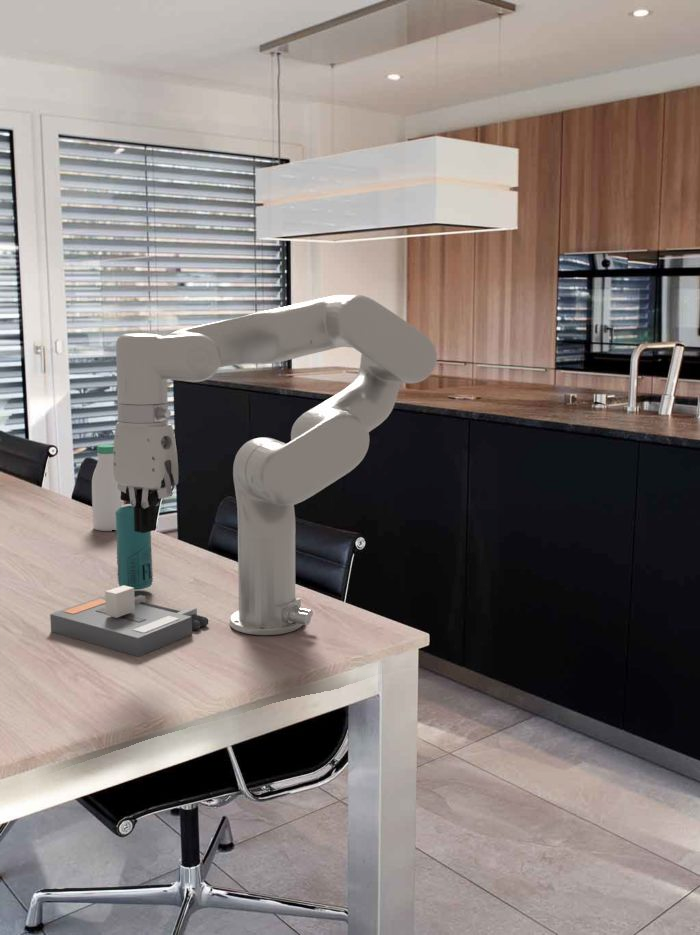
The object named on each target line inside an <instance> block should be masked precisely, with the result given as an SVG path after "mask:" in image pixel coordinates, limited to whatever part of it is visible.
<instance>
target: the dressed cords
mask: <svg viewBox="0 0 700 935" xmlns="http://www.w3.org/2000/svg"><path fill="white" fill-rule="evenodd" d="M134 598H135V603H138V604H142V605H146V606H150V607H154V608H158V609H162V610H166V611H170V612H174V613H179V614H183V615H187V616H191V617H192V631H197V630H199V629H200V628H201V627H204V628H205V627H206V626H208V624H209V619H208V618H207V617H205V616H202V615H198V608H196V607H194V606H191V607H188V608H185V609H183V610H179V609H177V610H176V609H173V608H169V607H166V606H161V605H157V604H153V603H148V602H147V599H146V598H147V597H146V595H142V594H140V595H137V596H134Z"/></svg>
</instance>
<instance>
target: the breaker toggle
mask: <svg viewBox="0 0 700 935" xmlns="http://www.w3.org/2000/svg"><path fill="white" fill-rule="evenodd" d="M105 596H106V615H108V616H112V617H116V618H118V617H120V616H123V615H126V614H128V613H131V612H134V611H135V598H134V597H135V590H134V588H133V587H129V586H125V585H123V586H117V587H115V588H112V589H109V590H105Z"/></svg>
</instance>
